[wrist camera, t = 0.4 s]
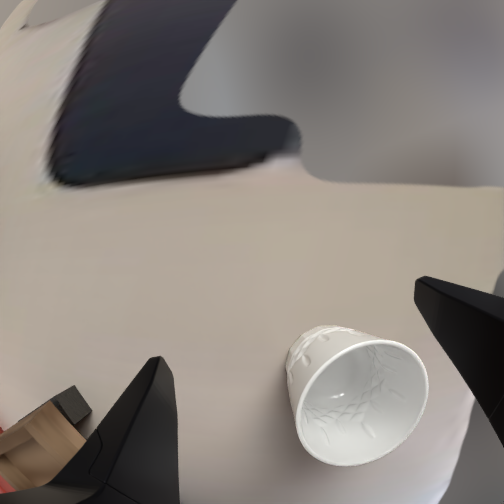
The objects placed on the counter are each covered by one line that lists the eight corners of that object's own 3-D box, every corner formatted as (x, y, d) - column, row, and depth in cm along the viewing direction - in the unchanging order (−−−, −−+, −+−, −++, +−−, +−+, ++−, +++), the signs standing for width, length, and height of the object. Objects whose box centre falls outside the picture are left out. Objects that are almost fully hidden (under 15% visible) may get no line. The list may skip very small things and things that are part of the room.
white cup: (262, 386, 23) (269, 447, 13) (304, 302, 24) (341, 316, 14) (341, 415, 23) (383, 475, 13) (382, 337, 23) (449, 364, 13)
